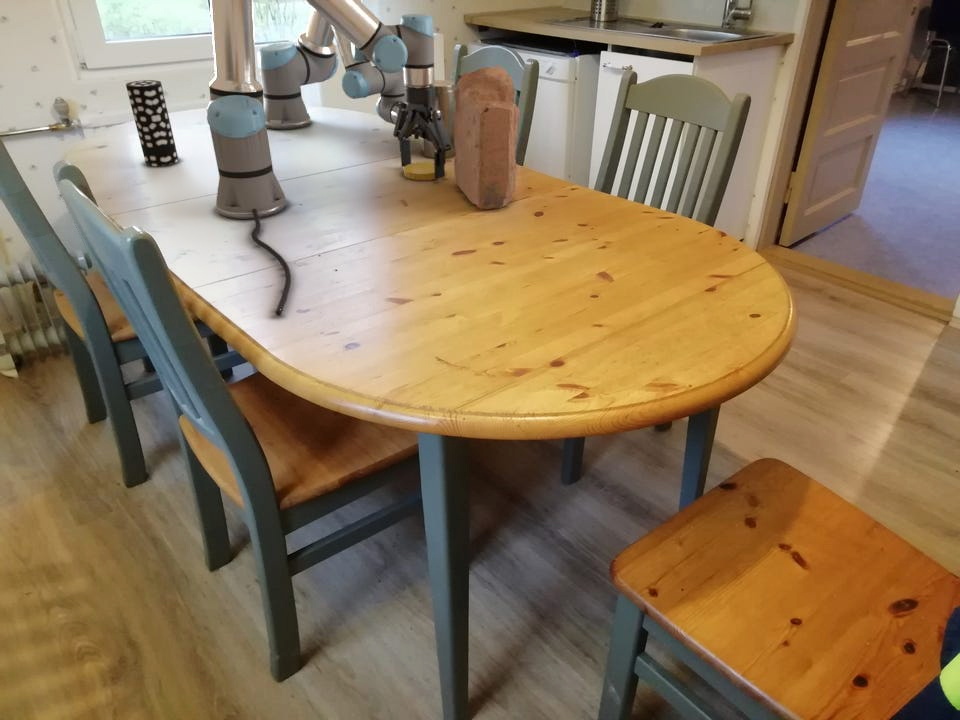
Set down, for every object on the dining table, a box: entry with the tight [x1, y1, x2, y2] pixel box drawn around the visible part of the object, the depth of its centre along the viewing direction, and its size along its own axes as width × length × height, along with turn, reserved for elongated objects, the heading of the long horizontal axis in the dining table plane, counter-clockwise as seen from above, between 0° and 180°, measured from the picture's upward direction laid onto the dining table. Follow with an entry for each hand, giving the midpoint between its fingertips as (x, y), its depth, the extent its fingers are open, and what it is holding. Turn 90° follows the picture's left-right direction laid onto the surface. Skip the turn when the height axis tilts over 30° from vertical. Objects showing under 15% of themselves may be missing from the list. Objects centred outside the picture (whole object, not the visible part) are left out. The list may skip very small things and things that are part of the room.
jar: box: [422, 79, 456, 159], centre depth 191 cm, size 9×9×19 cm
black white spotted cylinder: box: [125, 79, 179, 167], centre depth 181 cm, size 8×8×20 cm
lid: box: [403, 161, 436, 181], centre depth 180 cm, size 10×10×2 cm
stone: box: [453, 66, 520, 210], centre depth 159 cm, size 22×11×28 cm, turn 18°
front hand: (422, 171), depth 180 cm, fingers open, 13 cm apart
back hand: (447, 134), depth 190 cm, fingers closed on jar, 9 cm apart
